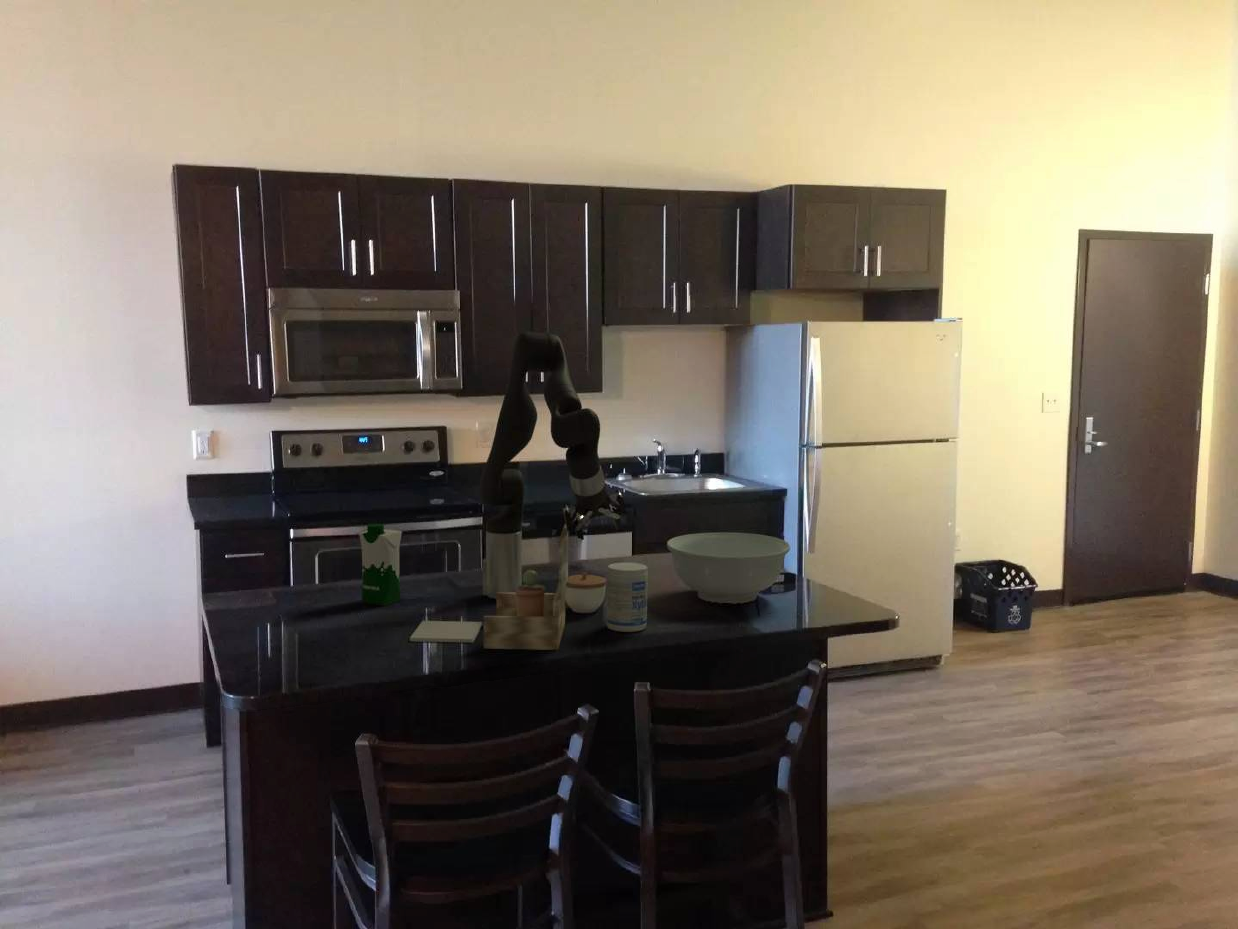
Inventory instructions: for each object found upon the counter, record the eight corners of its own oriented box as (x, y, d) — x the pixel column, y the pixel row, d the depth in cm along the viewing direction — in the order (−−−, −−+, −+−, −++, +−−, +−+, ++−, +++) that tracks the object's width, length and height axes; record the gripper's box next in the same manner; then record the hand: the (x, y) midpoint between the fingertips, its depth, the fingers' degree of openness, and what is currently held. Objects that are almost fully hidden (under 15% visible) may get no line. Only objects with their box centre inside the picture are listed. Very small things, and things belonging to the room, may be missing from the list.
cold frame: (483, 648, 230) (483, 540, 227) (497, 620, 252) (497, 522, 250) (561, 650, 230) (562, 542, 227) (568, 622, 252) (569, 523, 249)
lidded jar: (600, 616, 258) (601, 579, 256) (557, 613, 260) (558, 576, 259) (609, 606, 268) (610, 569, 267) (568, 603, 270) (568, 567, 269)
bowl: (647, 604, 270) (648, 548, 268) (687, 578, 300) (689, 527, 298) (771, 619, 258) (773, 560, 256) (800, 590, 288) (802, 537, 286)
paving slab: (409, 641, 235) (409, 637, 235) (422, 624, 249) (422, 620, 248) (472, 642, 234) (472, 639, 234) (482, 625, 248) (482, 622, 248)
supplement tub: (640, 635, 242) (641, 572, 241) (600, 631, 245) (601, 568, 243) (651, 624, 252) (652, 563, 250) (613, 620, 254) (614, 560, 253)
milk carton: (356, 603, 267) (355, 525, 264) (378, 595, 275) (377, 519, 273) (384, 607, 263) (383, 528, 261) (406, 599, 271) (406, 522, 269)
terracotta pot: (509, 636, 240) (510, 571, 238) (527, 629, 246) (527, 565, 244) (533, 640, 237) (533, 574, 235) (550, 633, 242) (550, 569, 241)
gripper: (614, 463, 239) (624, 513, 250) (553, 481, 238) (566, 529, 249) (622, 485, 234) (632, 534, 245) (560, 503, 233) (573, 552, 244)
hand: (599, 532), depth 247 cm, fingers open, 8 cm apart
